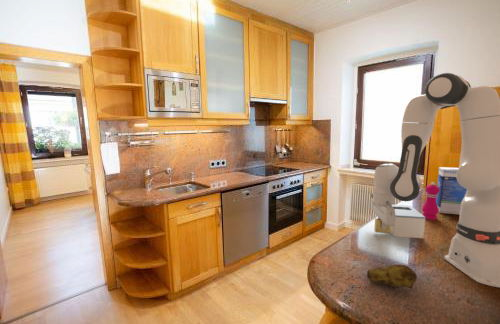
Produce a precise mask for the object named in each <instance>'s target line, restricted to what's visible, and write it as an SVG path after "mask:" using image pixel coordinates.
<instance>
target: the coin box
mask: <svg viewBox="0 0 500 324" xmlns="http://www.w3.org/2000/svg"><path fill="white" fill-rule="evenodd" d="M392 207H393V208H394V209H395V225H394V226H390V233H391V235H392V236H393V237H400V238H413V239H424V235H425V234H424V233H425V226H426V225H425V224H426V218H425V216H423V213H421V212H419V211H418V210H417V209H416V208H414V207H413V206H411V205H406V204H393V205H392Z"/></svg>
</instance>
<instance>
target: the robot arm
mask: <svg viewBox="0 0 500 324" xmlns="http://www.w3.org/2000/svg"><path fill="white" fill-rule="evenodd" d="M424 87H425V88H424V94H419V95H415V96H413V97H411V98H410V99H409V100H408V102H407V105H406V107H405V109H404V113H403V116H402V117H403V118H402V123H401V131H400V132H401V153H400V159H399V165H398V166H397V165H396V164H394V163H382V164H378V165H377V166H376V167H375V171H374V175H373V185H374V188H373V191H372V193H370V198H371V210H372V212H373V213H374V214H375V215H376V216H377V219H381V220H382V225H381V228H382V229H383V230H386V226H394V225H395V209H394V208H393V207H392V205H396V204H395V202H396V200H398V201H401V202H411V201H413V200H416V198H418V196H419V194H420V190H421V188H422V182H423V181H422V179H421V177H420V176H419V175H418V170H419V169H418V168H419V164H420V157H421V155H422V152H423V150H424V148H425V147H426V146H427V144H428V143H429V141H430V139H431V137H432V135H433V131H434V129H435V127H434V126H435V122H436V116H437V113H438V111H440V110H443V109H447V108H452V107H456V108H457V109H458V113H459V123H460V134H461V149H460V150H461V151H460V157H459V165H458V168H459V169H458V171H457V173H456V178H457V181H458V183H459V184H460V185H461V186H462V187H464V188H465V189H467V191H466V194H465V196H464V198H463V200H462V202H461V209H460V215H459V218H458V221H457V223H456V224H455V225H456V227H455V231H456V234H455V235H454V236H453V237H451V240H450V245H449V249H448V254H445V255H444V258H443V259H444V260H445V261H447V262H449V263H450V264H451V265H452V266H454V267H455V268H457V270H460V271H461V272H463V273H464V274H465V275H467V276H468V277H469V278H471V279H472V280H474V281H475V282H477V283H480V284H482V285H484V286H485V285H487V286H489V287H494V288H495V287H496V288H500V96H499V94H498V91H497V90H496V89H495V88H494V87H491V86H487V85H486V86H485V85H484V86H477V87H476V86H475V87H471V84H470V83H469V82H468V81H467V80H466V79H465V78H463V77H462V76H460V75H457V74H454V73H450V72H444V73H443V72H442V73H439V74H436V75H435V76H433V77H432V78H430V79H428V81H427V83H426V85H425V86H424Z"/></svg>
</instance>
